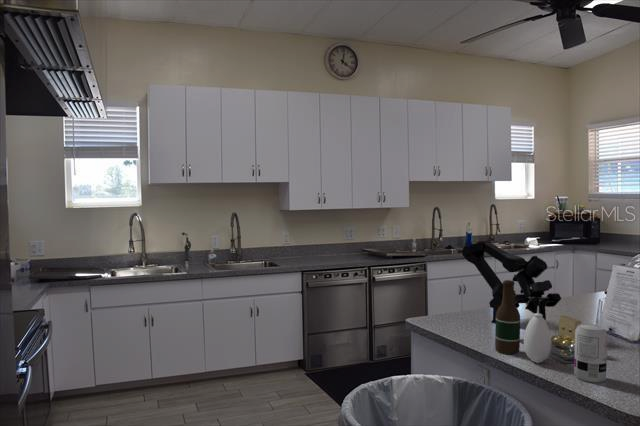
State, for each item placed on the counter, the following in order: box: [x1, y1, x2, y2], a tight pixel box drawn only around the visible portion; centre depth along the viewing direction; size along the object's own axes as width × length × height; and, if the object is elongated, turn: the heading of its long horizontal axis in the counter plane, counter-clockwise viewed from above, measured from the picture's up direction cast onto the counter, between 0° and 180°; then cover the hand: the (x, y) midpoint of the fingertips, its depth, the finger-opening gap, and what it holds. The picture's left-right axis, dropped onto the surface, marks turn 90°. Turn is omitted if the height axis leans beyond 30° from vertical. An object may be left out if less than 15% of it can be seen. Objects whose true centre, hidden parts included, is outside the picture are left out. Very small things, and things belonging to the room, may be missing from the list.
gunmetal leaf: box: [551, 342, 575, 361], centre depth 165 cm, size 7×9×4 cm
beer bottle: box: [494, 279, 521, 355], centre depth 171 cm, size 8×8×24 cm
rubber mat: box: [520, 338, 574, 365], centre depth 173 cm, size 26×15×1 cm, turn 11°
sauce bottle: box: [523, 306, 552, 364], centre depth 161 cm, size 8×8×18 cm
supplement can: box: [573, 323, 608, 384], centre depth 147 cm, size 8×8×15 cm
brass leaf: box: [551, 315, 582, 350], centre depth 174 cm, size 8×6×10 cm
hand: (544, 320), depth 187 cm, fingers closed
